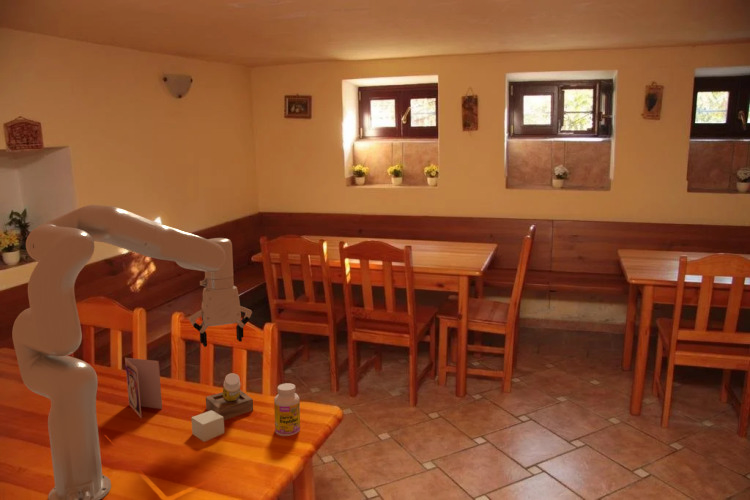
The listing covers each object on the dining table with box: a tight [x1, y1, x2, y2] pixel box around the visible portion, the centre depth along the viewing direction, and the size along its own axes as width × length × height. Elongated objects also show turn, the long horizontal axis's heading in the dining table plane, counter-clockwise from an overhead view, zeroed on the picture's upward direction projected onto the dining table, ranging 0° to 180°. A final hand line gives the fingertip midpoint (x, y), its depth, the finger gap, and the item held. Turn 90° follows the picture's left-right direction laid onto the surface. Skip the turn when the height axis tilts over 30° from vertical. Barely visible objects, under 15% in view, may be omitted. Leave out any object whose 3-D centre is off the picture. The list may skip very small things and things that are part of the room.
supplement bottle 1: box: [222, 372, 241, 403], centre depth 167 cm, size 5×5×8 cm
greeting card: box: [123, 357, 163, 419], centre depth 172 cm, size 11×7×15 cm, turn 39°
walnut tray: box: [205, 389, 254, 421], centre depth 170 cm, size 10×10×5 cm
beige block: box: [190, 410, 225, 443], centre depth 157 cm, size 6×6×5 cm
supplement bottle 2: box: [273, 382, 301, 437], centre depth 157 cm, size 7×7×13 cm
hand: (222, 342), depth 166 cm, fingers open, 9 cm apart
